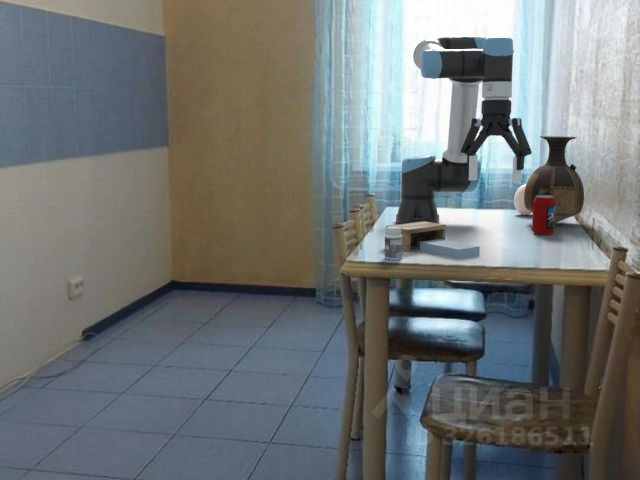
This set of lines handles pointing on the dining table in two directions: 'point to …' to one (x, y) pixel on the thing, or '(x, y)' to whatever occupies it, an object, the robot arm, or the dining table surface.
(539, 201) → the beverage can
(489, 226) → the dining table surface
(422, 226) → the shelf
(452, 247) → the panel
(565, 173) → the vase
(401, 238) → the pill bottle
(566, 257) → the dining table surface
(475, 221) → the dining table surface
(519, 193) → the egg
